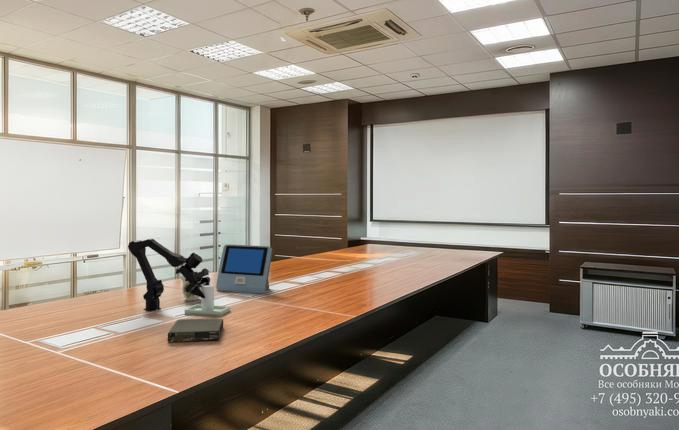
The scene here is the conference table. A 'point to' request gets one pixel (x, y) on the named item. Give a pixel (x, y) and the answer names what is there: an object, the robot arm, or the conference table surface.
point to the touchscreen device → (244, 269)
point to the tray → (197, 310)
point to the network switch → (195, 330)
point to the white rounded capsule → (207, 298)
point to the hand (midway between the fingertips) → (208, 295)
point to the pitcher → (187, 295)
